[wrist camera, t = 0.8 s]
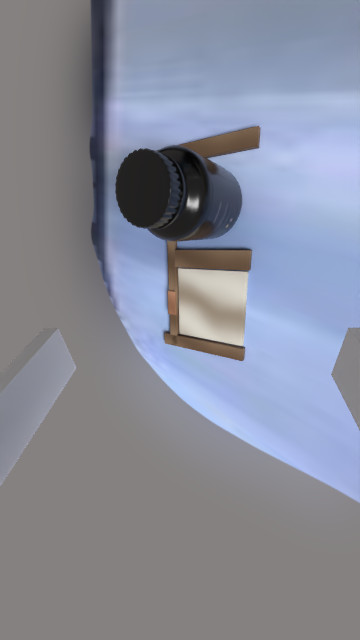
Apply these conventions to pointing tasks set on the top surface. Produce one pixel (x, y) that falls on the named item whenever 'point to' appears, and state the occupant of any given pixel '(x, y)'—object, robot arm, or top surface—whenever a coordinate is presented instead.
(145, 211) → the supplement bottle
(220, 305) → the flat wooden frame
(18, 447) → the robot arm
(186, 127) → the top surface
